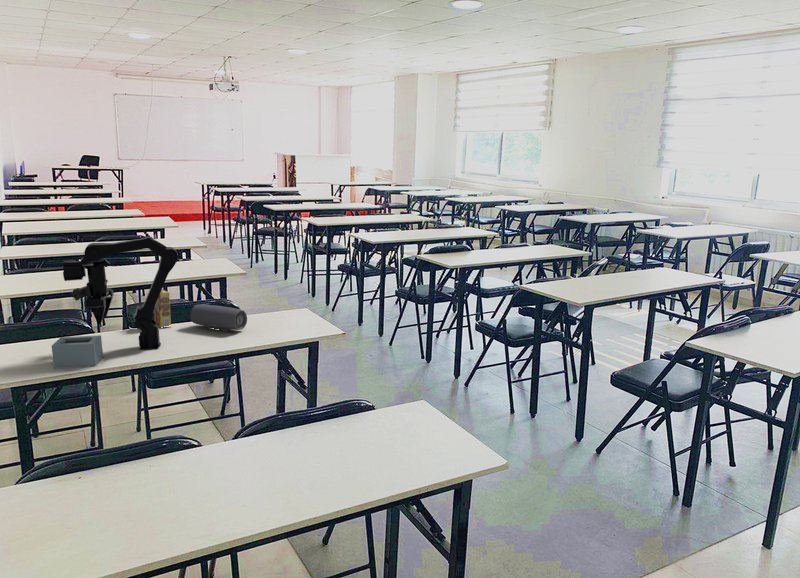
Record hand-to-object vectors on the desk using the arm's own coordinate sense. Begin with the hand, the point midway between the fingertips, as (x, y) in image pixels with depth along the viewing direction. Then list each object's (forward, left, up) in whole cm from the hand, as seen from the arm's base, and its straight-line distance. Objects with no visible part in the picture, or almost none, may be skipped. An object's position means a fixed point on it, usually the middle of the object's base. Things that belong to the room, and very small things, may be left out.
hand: (102, 320), depth 219 cm
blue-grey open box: (+6, +11, -12) cm, 17 cm away
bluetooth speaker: (-39, -24, -12) cm, 47 cm away
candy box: (-15, -33, -12) cm, 38 cm away
